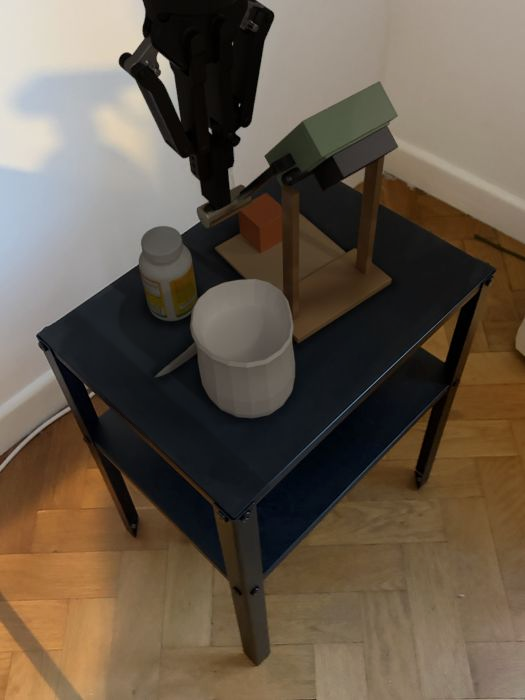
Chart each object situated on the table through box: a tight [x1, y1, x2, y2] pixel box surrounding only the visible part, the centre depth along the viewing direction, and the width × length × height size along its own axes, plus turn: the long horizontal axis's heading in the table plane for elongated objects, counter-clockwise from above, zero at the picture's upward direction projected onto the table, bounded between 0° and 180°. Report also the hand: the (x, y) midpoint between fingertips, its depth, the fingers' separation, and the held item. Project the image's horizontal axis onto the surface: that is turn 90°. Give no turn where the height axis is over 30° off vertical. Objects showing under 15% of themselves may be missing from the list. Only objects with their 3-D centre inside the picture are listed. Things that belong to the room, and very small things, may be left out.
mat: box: [214, 212, 347, 292], centre depth 82 cm, size 10×11×1 cm
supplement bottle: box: [138, 225, 199, 322], centre depth 75 cm, size 5×5×10 cm
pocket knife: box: [154, 341, 198, 378], centre depth 74 cm, size 14×1×2 cm, turn 131°
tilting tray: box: [196, 81, 399, 229], centre depth 65 cm, size 15×16×5 cm
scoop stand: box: [280, 155, 393, 344], centre depth 71 cm, size 6×13×18 cm, turn 127°
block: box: [237, 192, 282, 253], centre depth 82 cm, size 4×4×4 cm
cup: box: [189, 279, 296, 419], centre depth 68 cm, size 10×10×10 cm
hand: (216, 198), depth 68 cm, fingers closed
